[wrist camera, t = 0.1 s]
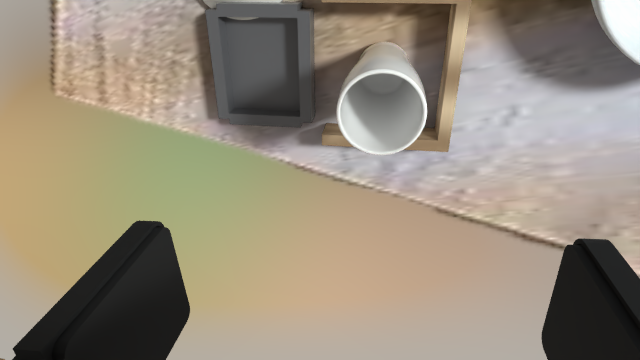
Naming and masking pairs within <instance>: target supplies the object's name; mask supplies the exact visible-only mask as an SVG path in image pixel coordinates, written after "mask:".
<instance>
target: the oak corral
mask: <svg viewBox="0 0 640 360" xmlns="http://www.w3.org/2000/svg"><path fill="white" fill-rule="evenodd" d="M471 1H472V0H322V2H340V3H444V4H451V9H450V17H449V24H448V31H447V39H446V46H445V54H444V61H443V69H442V76H441V84H440V91H439V98H438V106H437V113H436V121H435V128H423V130H422V132H421V134H420V135H419V137H418V138H417V139H416V140H415V141H414V142H413V143H412V144H411V145H410V146H408V147H407V148H405V149H404V150H421V151H439V152H448V149H449V143H450V137H451V130H452V124H453V117H454V111H455V104H456V98H457V91H458V85H459V79H460V72H461V66H462V59H463V53H464V46H465V40H466V34H467V27H468V21H469V14H470V8H471ZM322 145H330V146H348V147H354V146H352V145H351V144H350V143H349V142H348V141H347V140H346V139H345V137H344V136H343V135H342V133H341V131H340V129H339V126H338V124H334V123H326V125H325V128H324V130H323V133H322Z"/></svg>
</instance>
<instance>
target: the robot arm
mask: <svg viewBox="0 0 640 360" xmlns="http://www.w3.org/2000/svg"><path fill="white" fill-rule="evenodd" d="M189 313H190V306H189V302H188V298H187V294H186V290H185V286H184V283H183V279H182V275H181V271H180V267H179V264H178V260H177V256H176V253H175V249H174V245H173V241H172V237H171V233H170V230H169V229H168V228H165V227H164V225H163V224H162V223H161V222H158V221H136V222H135V223H133V224H132V226H131V227H130V228H129V229H128V230H127V231H126V232H125V233H124V234H123V235H122V236H121V237H120V238H119V239H118V240H117V241H116V242H115V243H114V244H113V245H112V246H111V247H110V248H109V249H108V250H107V251H106V252H105V254H104V255H103V256H102V257H101V258H100V259H99V260H98V261H97V262H96V263H95V264H94V265H93V266H92V267H91V268H90V269H89V270H88V271H87V272H86V273H85V274H84V275H83V276H82V277H81V278H80V279H79V280H78V281H77V283H76V284H75V285H74V286H73V287H72V288H71V289H70V290H69V291H68V292H67V293H66V294H65V295H64V296H63V297H62V298H61V299H60V300H59V301H58V302H57V303H56V304H55V305H54V306H53V307H52V308H51V310H50V311H49V312H48V313H47V314H46V315H45V316H44V317H43V318H42V319H41V320H40V321H39V322H38V323H37V324H36V325H35V326H34V327H33V328H32V329H31V330H30V331H29V332H28V333H27V334H26V336H24V337H23V338H22V339H21V341H19V343H18V344H17V345H16V346H15V347H14V348H13V350H14V352H15V354H16V356H15V357H14V358H13V359H12V360H166V358H167V356H168V355H169V353H170V351H171V349H172V347H173V346H174V344H175V342H176V340H177V338H178V337H179V335H180V333H181V331H182V329H183V328H184V326H185V324H186V322H187V320H188V318H189ZM542 344H543V348H544V351H545V353H546V356H547V359H548V360H640V278H639V277H638V276H637V275H636V273H635V272H634V271H633V269H632V268H631V267H630V266H629V264H628V263H627V262H626V261H625V259H624V258H623V257H622V255H621V254H620V253H619V252H618V250H617V249H616V248H615V246H614V245H613V244H612V243H611V242H610V241H609V240H603V239H576V241H575V242H574V244H573V245H567V246H566V247H565V250H564V253H563V257H562V260H561V264H560V268H559V271H558V275H557V279H556V282H555V286H554V290H553V293H552V297H551V301H550V304H549V308H548V312H547V315H546V319H545V323H544V326H543V330H542ZM0 360H5V359H1V358H0Z"/></svg>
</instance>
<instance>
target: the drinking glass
mask: <svg viewBox="0 0 640 360" xmlns="http://www.w3.org/2000/svg"><path fill="white" fill-rule="evenodd" d="M336 117H337V123H338V126H339V129H340V131H341V133H342V135H343V136H344V137H345V139H346V140H347V141H348V142H349V143H350V144H351V145H352V146H354V147H355V148H357V149H358V150H360V151H363V152H365V153H368V154H373V155H389V154H394V153H397V152H399V151H402V150H404V149H405V148H407V147H408V146H410V145H411V144H412V143H413V142H414V141H415V140H416V139H417V138H418V137H419V135H420V134H421V132H422V130H423V128H424V126H425V123H426V119H427V102H426V95H425V91H424V87H423V84H422V81H421V79H420V77H419V75H418V74H417V72H416V70H415V69H414V67H413V66H412V64H411V63H410V61H409V59H408V56H407V54H406V53H405V51H404V50H403V49H402V48H401V47H399V46H398V45H396V44H394V43H391V42H378V43H375V44H373V45H371V46H369V47H368V48H367V49H366V50H365V51H364V52H363V53H362V55H361V56H360V58H359V61H358V62H357V63H356V65H355V66H354V67H353V68H352V70H351V71H350V72H349V74H348V75H347V77H346V79H345V81H344V83H343V85H342V88H341V91H340V94H339V98H338V103H337V109H336Z"/></svg>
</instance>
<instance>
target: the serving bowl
mask: <svg viewBox="0 0 640 360" xmlns="http://www.w3.org/2000/svg"><path fill="white" fill-rule="evenodd" d="M591 1H592V6H593V9H594V12H595V14H596V17H597V19H598V21H599V23H600V25H601V27H602V29H603V31H604V32H605V34H606V35H607V36H608V38H609V39H610V40H611V41H612V43H613V44H614V45H615V46H616V47H617V48H618V49H619V50H620V51H621V52H622V53H623V54H624V55H625V56H627V57H628V58H629V59H631V60H632V61H633V62H635V63H636V64H638V65H640V0H591Z"/></svg>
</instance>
